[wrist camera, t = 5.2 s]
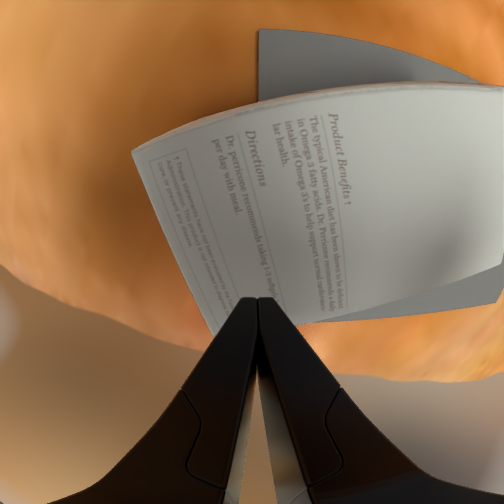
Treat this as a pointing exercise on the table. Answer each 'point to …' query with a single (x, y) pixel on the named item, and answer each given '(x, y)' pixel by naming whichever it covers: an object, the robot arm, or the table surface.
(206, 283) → the supplement box
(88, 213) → the table surface
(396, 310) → the mat
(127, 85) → the table surface
